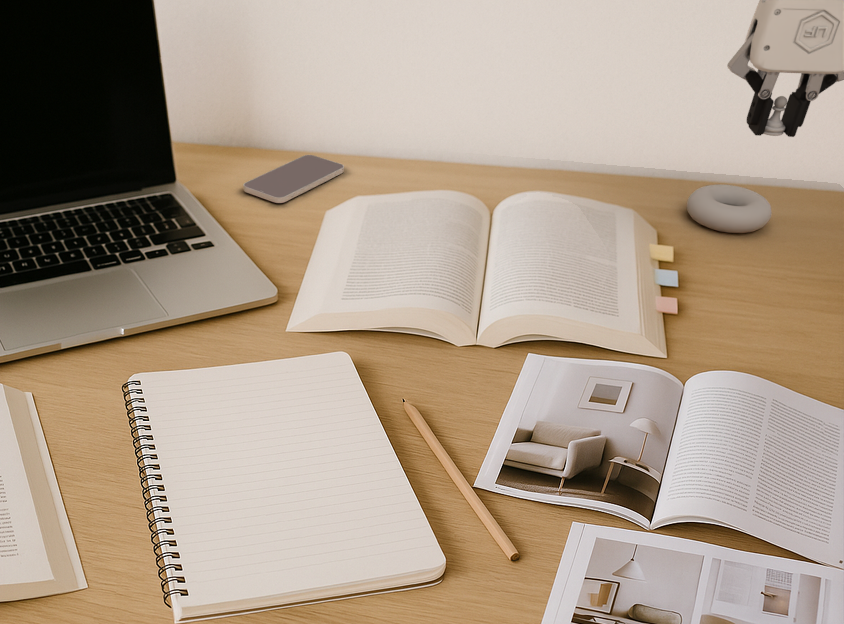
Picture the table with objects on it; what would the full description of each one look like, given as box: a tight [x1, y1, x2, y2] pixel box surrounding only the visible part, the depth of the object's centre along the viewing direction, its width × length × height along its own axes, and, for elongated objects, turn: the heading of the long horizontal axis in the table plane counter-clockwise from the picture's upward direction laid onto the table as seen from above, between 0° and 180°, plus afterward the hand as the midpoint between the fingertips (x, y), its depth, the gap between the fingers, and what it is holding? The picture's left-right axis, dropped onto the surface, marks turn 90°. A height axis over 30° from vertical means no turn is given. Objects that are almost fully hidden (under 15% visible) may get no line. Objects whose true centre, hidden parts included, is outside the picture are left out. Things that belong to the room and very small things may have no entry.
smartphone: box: [242, 154, 345, 204], centre depth 119 cm, size 7×1×15 cm
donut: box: [686, 183, 773, 234], centre depth 108 cm, size 10×4×10 cm
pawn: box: [762, 95, 788, 137], centre depth 92 cm, size 3×3×4 cm
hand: (771, 130), depth 93 cm, fingers closed on pawn, 2 cm apart
